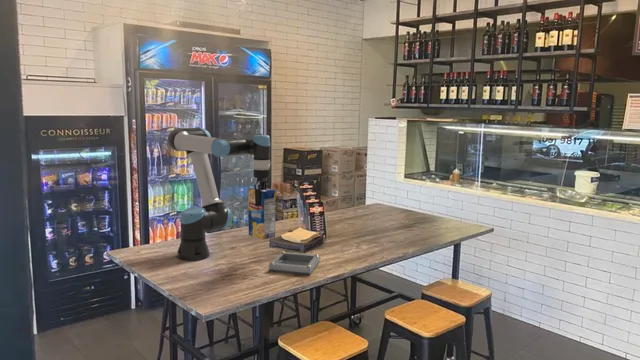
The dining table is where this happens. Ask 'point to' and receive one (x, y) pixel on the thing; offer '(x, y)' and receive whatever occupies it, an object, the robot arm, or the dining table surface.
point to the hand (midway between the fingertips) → (261, 219)
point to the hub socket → (294, 263)
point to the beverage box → (262, 214)
